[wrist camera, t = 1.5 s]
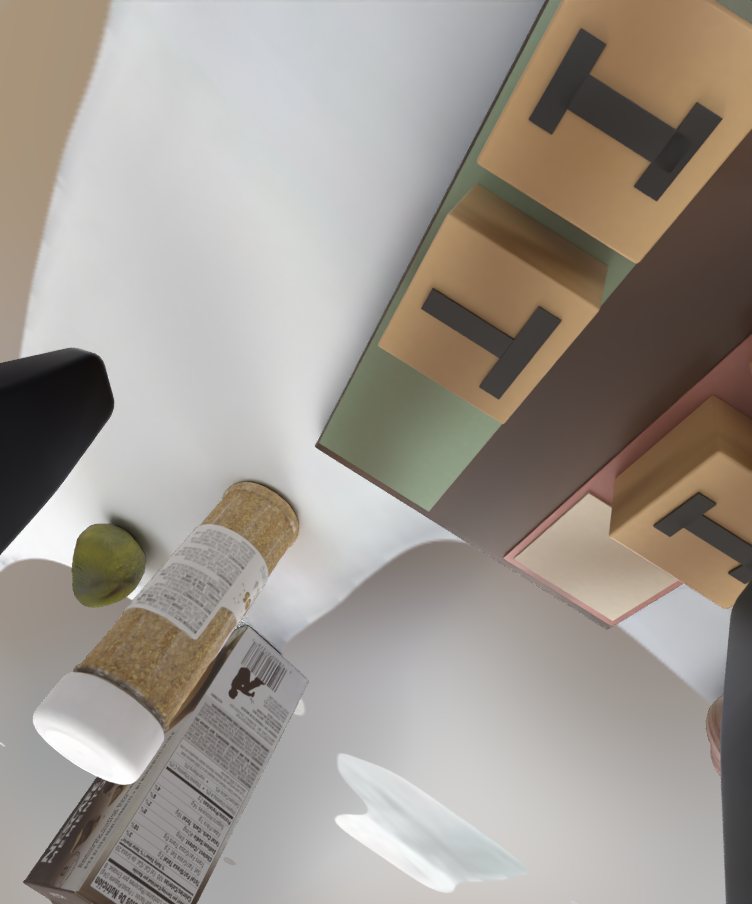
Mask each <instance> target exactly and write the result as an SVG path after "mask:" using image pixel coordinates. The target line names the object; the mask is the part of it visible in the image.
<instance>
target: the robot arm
mask: <svg viewBox="0 0 752 904" xmlns="http://www.w3.org/2000/svg"><path fill="white" fill-rule="evenodd" d="M113 409H114V397H113V394H112V390H111V386H110V383H109V379H108V375H107V372H106V368H105V364H104V362H103V360H102V359H101V358H100V356H98V355H97V354H95V353H92V352H88V351H85V350H82V349H78V348H66V349H62V350H57V351H53V352H48V353H44V354H39V355H35V356H30V357H26V358H21V359H17V360H12V361H8V362H3V363H0V555H1V554H2V552H3V551H4V550H5V549H6V548H7V547H8V546H9V545H10V543H11V542H12V541H13V540H14V539H15V538H16V537H17V536H18V534H19V533H20V532H21V531H22V530H23V529H24V528H25V527H26V525H27V524H28V523H29V522H30V521H31V520H32V519H33V518H34V516H35V515H36V514H37V513H38V512H39V511H40V510H41V509H42V507H43V506H44V505H45V504H46V503H47V502H48V500H49V499H50V498H51V497H52V496H53V494H54V493H55V492H56V491H57V489H58V488H59V487H60V485H61V484H62V483H63V482H64V480H65V479H66V477H67V476H68V475H69V473H70V472H71V471H72V469H73V468H74V466H75V465H76V464H77V462H78V461H79V460H80V458H81V457H82V455H83V454H84V453H85V451H86V450H87V449H88V447H89V446H90V444H91V443H92V442H93V440H94V439H95V437H96V436H97V435H98V433H99V432H100V431H101V429H102V428H103V426H104V425H105V424H106V422H107V421H108V420H109V418H110V417H111V415H112V412H113ZM720 767H721V790H722V817H723V841H724V863H725V864H724V866H725V892H726V904H752V579H751V581H750V582H749V583H748V585H747V586H746V587H745V588H744V590H743V591H742V592H741V594H740V595H739V596H738V598H737V599H736V601H735V603H734V606H733V609H732V612H731V618H730V628H729V639H728V650H727V661H726V673H725V684H724V695H723V706H722V717H721V732H720Z"/></svg>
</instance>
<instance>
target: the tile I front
mask: <svg viewBox="0 0 752 904" xmlns="http://www.w3.org/2000/svg"><path fill="white" fill-rule="evenodd" d="M751 129H752V24H751V23H750V22H748V21H747V20H745V19H743V18H742V17H740V16H739V15H737V14H736V13H734V12H733V11H731V10H729V9H728V8H726V7H725V6H723V5H722V4H720V3H718V2H717V1H715V0H562V1H561V3H560V5H559V6H558V8H557V10H556V12H555V14H554V16H553V18H552V20H551V21H550V23H549V25H548V27H547V29H546V31H545V33H544V34H543V36H542V38H541V40H540V42H539V44H538V46H537V48H536V49H535V51H534V53H533V55H532V57H531V59H530V61H529V63H528V64H527V66H526V68H525V70H524V72H523V74H522V76H521V78H520V79H519V81H518V83H517V85H516V87H515V89H514V91H513V93H512V94H511V96H510V98H509V100H508V102H507V104H506V106H505V107H504V109H503V111H502V113H501V115H500V117H499V119H498V121H497V122H496V124H495V126H494V128H493V130H492V132H491V134H490V136H489V137H488V139H487V141H486V143H485V145H484V147H483V149H482V151H481V152H480V154H479V156H478V158H477V163H478V164H479V165H480V166H482V167H483V168H485V169H486V170H488V171H490V172H491V173H493V174H494V175H496V176H497V177H499V178H501V179H502V180H504V181H505V182H507V183H508V184H510V185H512V186H513V187H515V188H516V189H518V190H519V191H521V192H523V193H524V194H526V195H527V196H529V197H531V198H532V199H534V200H535V201H537V202H538V203H540V204H542V205H543V206H545V207H546V208H548V209H549V210H551V211H553V212H554V213H556V214H557V215H559V216H560V217H562V218H564V219H565V220H567V221H568V222H570V223H572V224H573V225H575V226H576V227H578V228H579V229H581V230H583V231H584V232H586V233H587V234H589V235H590V236H592V237H594V238H595V239H597V240H598V241H600V242H601V243H603V244H605V245H606V246H608V247H609V248H611V249H613V250H614V251H616V252H617V253H619V254H620V255H622V256H624V257H625V258H627V259H628V260H630V261H631V262H633V263H636V264H637V263H639V262H640V261H641V260H642V259H643V258H644V256H645V255H646V254H647V253H648V252H649V251H650V249H651V248H652V247H653V246H654V245H655V243H656V242H657V241H658V240H659V239H660V237H661V236H662V235H663V234H664V233H665V232H666V230H667V229H668V228H669V227H670V226H671V224H672V223H673V222H674V221H675V220H676V218H677V217H678V216H679V215H680V214H681V212H682V211H683V210H684V209H685V208H686V207H687V205H688V204H689V203H690V202H691V201H692V199H693V198H694V197H695V196H696V195H697V193H698V192H699V191H700V190H701V189H702V187H703V186H704V185H705V184H706V183H707V182H708V180H709V179H710V178H711V177H712V176H713V174H714V173H715V172H716V171H717V170H718V168H719V167H720V166H721V165H722V164H723V162H724V161H725V160H726V159H727V158H728V157H729V155H730V154H731V153H732V152H733V151H734V149H735V148H736V147H737V146H738V145H739V143H740V142H741V141H742V140H743V139H744V138H745V136H746V135H747V134H748V133H749V132H750V130H751Z"/></svg>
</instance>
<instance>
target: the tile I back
mask: <svg viewBox="0 0 752 904" xmlns="http://www.w3.org/2000/svg"><path fill="white" fill-rule="evenodd" d="M609 537H610V538H612V539H613V540H615V541H617V542H618V543H620V544H621V545H623V546H625V547H626V548H628V549H629V550H631V551H632V552H634V553H636V554H637V555H639V556H640V557H642V558H644V559H645V560H647V561H648V562H650V563H652V564H653V565H655V566H656V567H658V568H660V569H661V570H663V571H664V572H666V573H668V574H669V575H671V576H672V577H674V578H675V579H677V580H679V581H680V582H682V583H683V584H685V585H687V586H688V587H690V588H691V589H693V590H695V591H696V592H698V593H699V594H701V595H703V596H704V597H706V598H707V599H709V600H711V601H712V602H714V603H715V604H717V605H718V606H720V607H722V608H723V609H728V608H730V607H732V606H734V603H735V601H736V599H737V598H738V596H739V595H740V594H741V592H742V591H743V590H744V588H745V587H746V586H747V585H748V583H749V582H750V581H751V579H752V419H750V418H749V417H747V416H746V415H744V414H742V413H741V412H739V411H738V410H736V409H735V408H733V407H731V406H730V405H728V404H727V403H725V402H723V401H722V400H720V399H719V398H717V397H716V396H711V397H710V398H708V399H707V400H706V401H705V402H704V403H703V404H701V405H700V406H699V407H698V408H697V409H696V410H694V411H693V412H692V413H691V414H690V415H689V416H688V417H686V418H685V419H684V420H683V421H682V422H681V423H679V424H678V425H677V426H676V427H675V428H674V429H672V430H671V431H670V432H669V433H668V434H667V435H665V436H664V437H663V438H662V439H661V440H660V441H659V442H657V443H656V444H655V445H654V446H653V447H652V448H650V449H649V450H648V451H647V452H646V453H645V454H643V455H642V456H641V457H640V458H639V459H638V460H637V461H635V462H634V463H633V464H632V465H631V466H630V467H628V468H627V469H626V470H625V471H624V472H623V473H621V474H620V475H619V476H618V477H617V478H616V479H615V482H614V491H613V501H612V510H611V519H610V529H609Z"/></svg>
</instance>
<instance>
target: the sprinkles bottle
mask: <svg viewBox="0 0 752 904" xmlns="http://www.w3.org/2000/svg"><path fill="white" fill-rule="evenodd" d="M298 526H299V523H298V519H297V517H296V515H295V513H294V511H293V509H292V508H291V507H290V505H289V504H288V503H287V502H286V501H285V500H283V499H282V498H281V497H280V496H279V495H278V494H276V493H275V492H273V491H271V490H269V489H268V488H266V487H264V486H262V485H259V484H256V483H252V482H241V483H237V484H234V485H232V486H230V487H229V488H228V489H227V490H226V491H225V493H224V495H223V497H222V500H221V501H220V503H219V504H218V505H217V506H216V507H215V509H213V511H212V512H211V513H210V514H209V515H208V517H207V518H206V519H205V520H204V521H203V523H202V524H201V525H200V526H198V527H197V528H195V529H194V530H193V532H192V533H191V534H190V535H189V536H188V537H187V538H186V540H185V541H184V542H183V543H182V544H181V545H180V547H179V548H178V549H177V550H176V551H175V552H174V553H173V555H172V556H171V557H170V558H169V559H168V560H167V561H166V563H165V564H164V565H163V566H162V567H161V568H160V570H159V571H158V572H157V573H156V574H155V575H154V576H153V578H152V579H151V580H150V581H149V582H148V583H147V584H146V586H145V587H144V588H143V589H142V590H141V592H140V593H139V594H138V595H137V596H136V597H135V598H134V599H133V601H132V602H131V603H130V604H129V605H128V606H127V608H126V609H125V610H124V612H123V614H122V616H121V617H120V619H119V620H118V621H116V623H115V624H114V625H113V627H112V628H111V629H110V630H109V631H108V633H107V634H106V635H105V636H104V637H103V638H102V640H101V641H100V642H99V643H98V644H97V646H96V647H95V648H94V649H93V650H92V651H91V652H90V653H89V654H88V655H87V657H86V659H85V660H84V661H83V662H82V663H80V664H78V665H77V666H75V668H74V671H73V672H72V673H68V674H66V675H65V676H64V677H63V678H62V679H61V680H60V681H59V682H58V684H57V685H56V686H55V687H54V688H53V689H52V690H51V692H50V693H49V694H48V695H47V696H46V698H45V699H44V700H43V701H42V703H41V704H40V705H39V706H38V708H37V709H36V710H35V712H34V714H33V724H34V726H35V728H36V730H37V731H38V733H39V734H40V735H41V736H42V738H43V739H44V740H45V741H46V742H47V743H48V744H49V745H51V746H52V747H53V748H54V749H55V750H56V751H58V752H59V753H60V754H61V755H63V756H64V757H65V758H67V759H68V760H69V761H71V762H73V763H74V764H76V765H78V766H79V767H81V768H82V769H84V770H86V771H88V772H89V773H91V774H93V775H95V776H97V777H99V778H102V779H104V780H107V781H109V782H113V783H117V784H122V785H126V784H132V783H134V782H135V781H136V780H137V779H138V778H139V777H140V776H141V774H142V773H143V771H144V770H145V769H146V767H147V766H148V764H149V763H150V761H151V760H152V758H153V757H154V755H155V754H156V752H157V751H158V749H159V748H160V746H161V745H162V743H163V741H164V731H167V730H168V729H169V724H170V722H171V720H172V719H173V717H174V716H175V715H176V713H177V712H178V711H179V709H180V707H181V705H182V704H183V703H184V701H185V700H186V698H187V697H188V695H189V694H190V692H191V691H192V689H193V688H194V687H195V685H196V684H197V682H198V681H199V679H200V678H201V676H202V674H203V673H204V672H205V671H206V669H207V667H208V666H209V664H210V663H211V662H212V661H213V659H214V658H215V657H216V656H217V655H218V653H219V652H220V650H221V649H222V647H223V646H224V644H225V643H226V641H227V640H228V638H229V637H230V635H231V634H232V632H233V631H234V629H235V628H236V626H237V625H238V623H239V622H240V621H241V619H242V618H243V616H244V615H245V613H246V612H247V610H248V609H249V607H250V606H251V604H252V603H253V601H254V600H255V598H256V597H257V595H258V594H259V592H260V591H261V589H262V588H263V586H264V585H265V583H266V581H267V579H268V577H269V575H270V574H271V572H272V571H273V569H274V568H275V567H276V565H277V563H278V561H279V560H280V558H281V557H282V555H283V554H284V553H285V552H286V550H287V548H289V547H290V546H291V545H293V543H294V542H295V540H296V539H297V536H298V532H299V527H298Z"/></svg>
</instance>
